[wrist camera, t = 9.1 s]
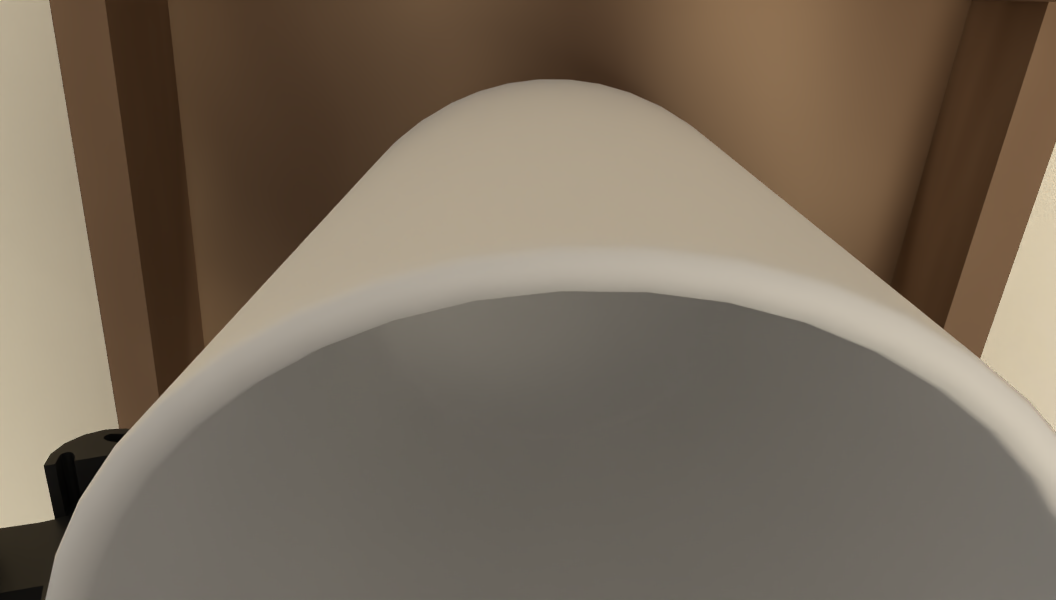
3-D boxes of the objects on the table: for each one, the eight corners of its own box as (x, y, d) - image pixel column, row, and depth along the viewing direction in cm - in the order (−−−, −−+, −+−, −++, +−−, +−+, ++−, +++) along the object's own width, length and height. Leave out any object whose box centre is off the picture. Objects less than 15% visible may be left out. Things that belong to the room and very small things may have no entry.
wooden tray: (209, 560, 23) (137, 687, 19) (125, -152, 15) (-24, -206, 11) (816, 596, 23) (878, 727, 19) (1014, -76, 16) (1185, -101, 12)
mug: (438, 581, 19) (339, 1215, 9) (295, 118, 15) (-204, 382, 5) (772, 531, 18) (1055, 1156, 8) (732, 31, 14) (1233, 121, 4)
